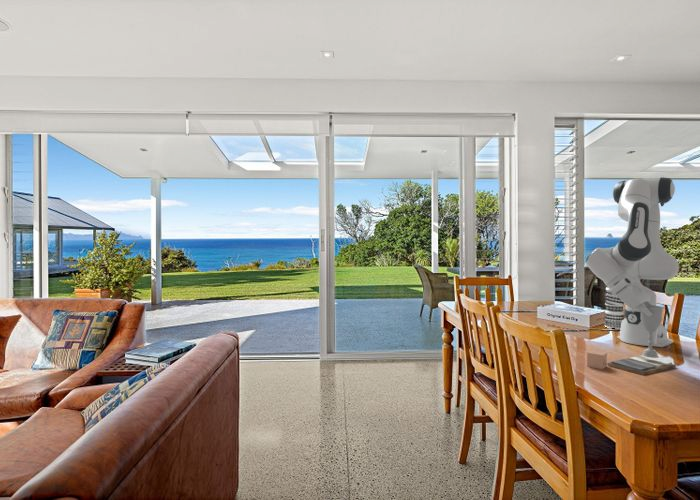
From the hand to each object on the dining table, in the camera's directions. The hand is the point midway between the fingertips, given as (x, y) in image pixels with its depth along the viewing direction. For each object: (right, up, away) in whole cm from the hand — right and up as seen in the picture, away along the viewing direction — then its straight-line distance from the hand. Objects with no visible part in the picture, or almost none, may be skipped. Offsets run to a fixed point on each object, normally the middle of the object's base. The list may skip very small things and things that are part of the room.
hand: (653, 314), depth 153 cm
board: (-5, -18, -1) cm, 19 cm away
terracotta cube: (-21, -18, -1) cm, 28 cm away
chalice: (-1, -15, +1) cm, 15 cm away
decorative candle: (+26, -17, +65) cm, 72 cm away
